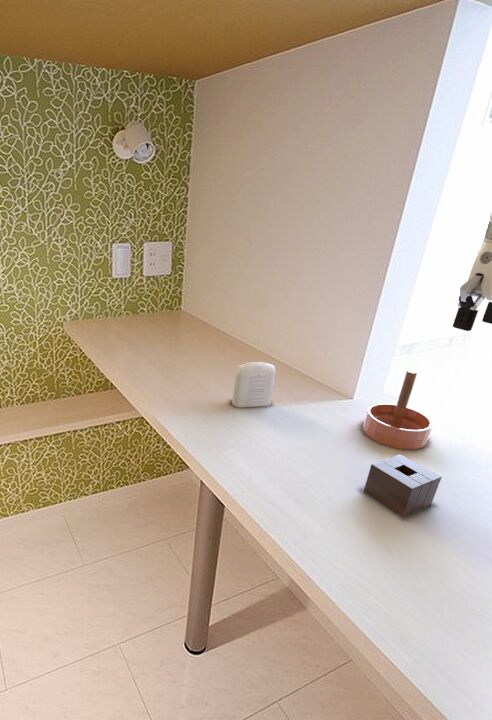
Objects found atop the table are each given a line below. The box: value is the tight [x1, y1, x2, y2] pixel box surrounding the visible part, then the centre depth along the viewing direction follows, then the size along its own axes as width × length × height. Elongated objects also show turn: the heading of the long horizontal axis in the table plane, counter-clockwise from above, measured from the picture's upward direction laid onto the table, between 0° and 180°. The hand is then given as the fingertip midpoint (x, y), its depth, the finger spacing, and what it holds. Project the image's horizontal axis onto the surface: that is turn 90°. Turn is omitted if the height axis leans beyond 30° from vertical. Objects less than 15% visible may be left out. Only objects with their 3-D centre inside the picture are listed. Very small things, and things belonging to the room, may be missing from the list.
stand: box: [363, 453, 442, 518], centre depth 79 cm, size 8×8×7 cm
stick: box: [389, 369, 418, 428], centre depth 98 cm, size 2×2×16 cm
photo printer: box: [231, 361, 276, 408], centre depth 113 cm, size 10×4×12 cm, turn 98°
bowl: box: [362, 403, 434, 450], centre depth 101 cm, size 13×13×6 cm
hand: (476, 326), depth 85 cm, fingers open, 9 cm apart
